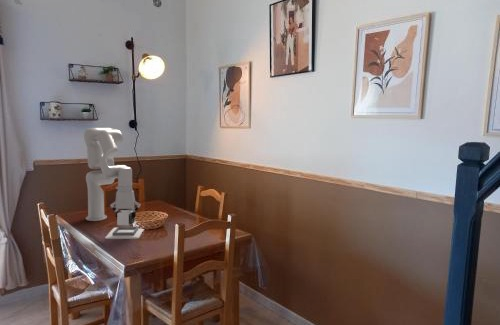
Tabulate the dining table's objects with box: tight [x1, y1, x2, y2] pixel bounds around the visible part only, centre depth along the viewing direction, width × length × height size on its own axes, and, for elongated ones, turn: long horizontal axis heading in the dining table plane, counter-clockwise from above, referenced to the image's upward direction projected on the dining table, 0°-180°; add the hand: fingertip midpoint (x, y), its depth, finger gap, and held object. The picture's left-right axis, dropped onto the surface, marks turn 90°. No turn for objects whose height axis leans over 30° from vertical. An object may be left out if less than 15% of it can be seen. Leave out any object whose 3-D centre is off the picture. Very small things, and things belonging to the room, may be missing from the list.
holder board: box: [104, 226, 145, 240], centre depth 197 cm, size 18×18×2 cm
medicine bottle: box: [116, 209, 135, 227], centre depth 196 cm, size 7×7×12 cm
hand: (125, 218), depth 196 cm, fingers closed on medicine bottle, 8 cm apart
